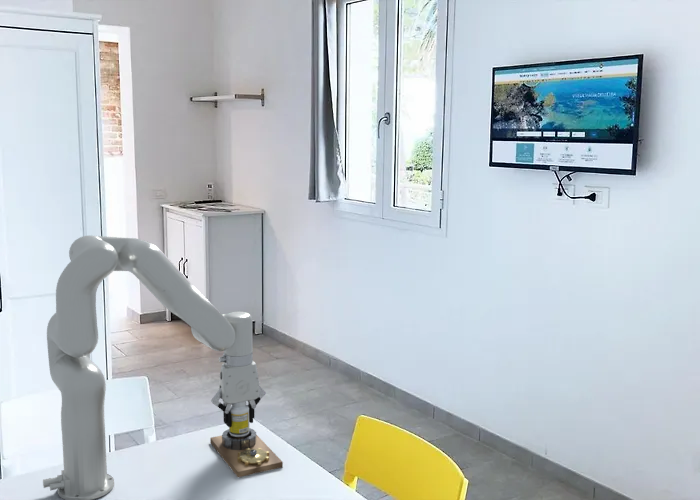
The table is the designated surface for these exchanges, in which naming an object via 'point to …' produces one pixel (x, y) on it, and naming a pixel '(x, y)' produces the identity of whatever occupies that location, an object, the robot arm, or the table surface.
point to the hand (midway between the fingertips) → (239, 422)
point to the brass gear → (253, 456)
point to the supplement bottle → (239, 419)
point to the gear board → (240, 468)
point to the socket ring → (238, 440)
